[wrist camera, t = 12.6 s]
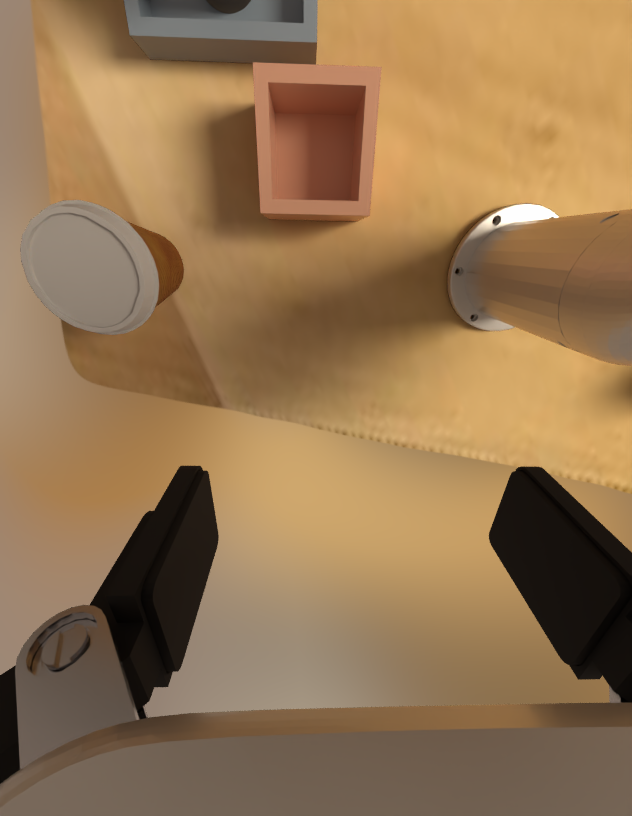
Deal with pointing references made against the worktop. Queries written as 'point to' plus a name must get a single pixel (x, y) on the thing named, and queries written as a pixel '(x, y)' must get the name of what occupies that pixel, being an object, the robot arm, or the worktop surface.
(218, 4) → the peg
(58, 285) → the disposable coffee cup
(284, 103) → the terracotta open box
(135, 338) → the worktop surface
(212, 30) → the tray
